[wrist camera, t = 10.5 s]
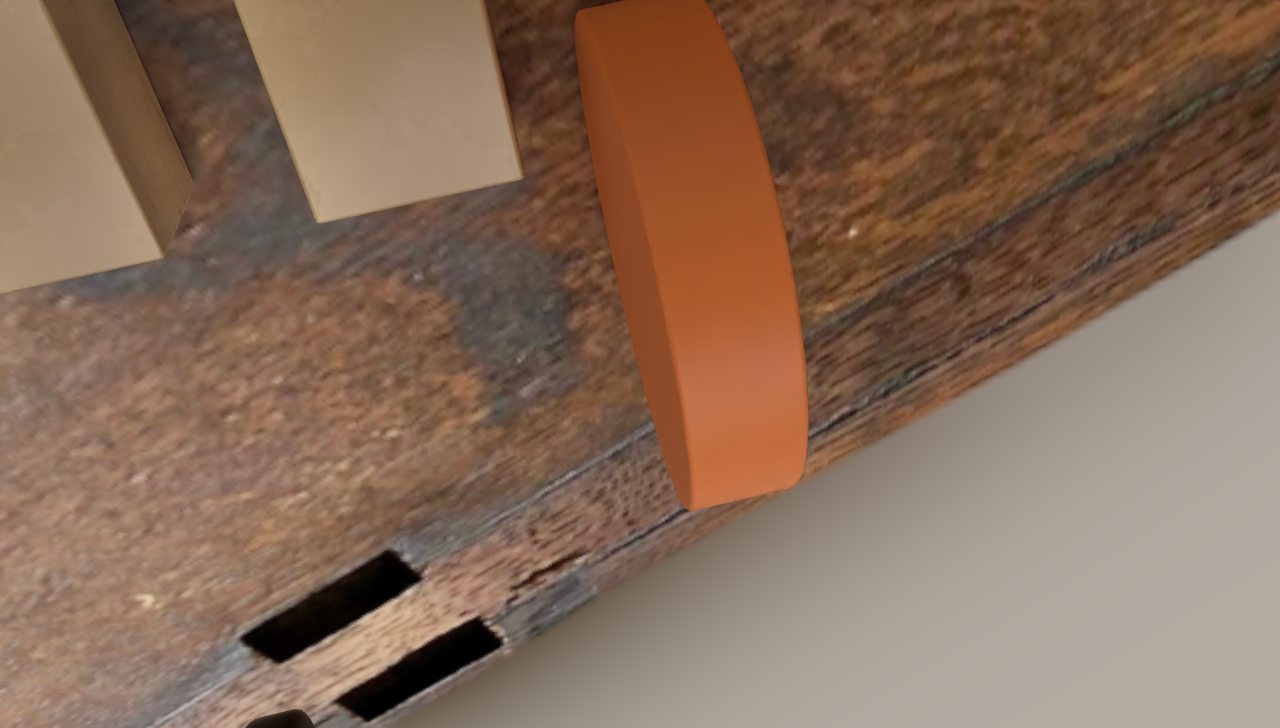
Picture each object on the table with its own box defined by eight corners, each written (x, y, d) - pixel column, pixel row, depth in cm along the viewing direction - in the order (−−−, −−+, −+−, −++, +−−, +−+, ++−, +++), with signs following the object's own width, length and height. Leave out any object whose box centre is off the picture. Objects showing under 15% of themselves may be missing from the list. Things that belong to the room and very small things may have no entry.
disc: (622, 325, 20) (712, 617, 14) (551, -55, 15) (641, 151, 10) (700, 307, 20) (819, 591, 14) (651, -76, 15) (795, 118, 10)
